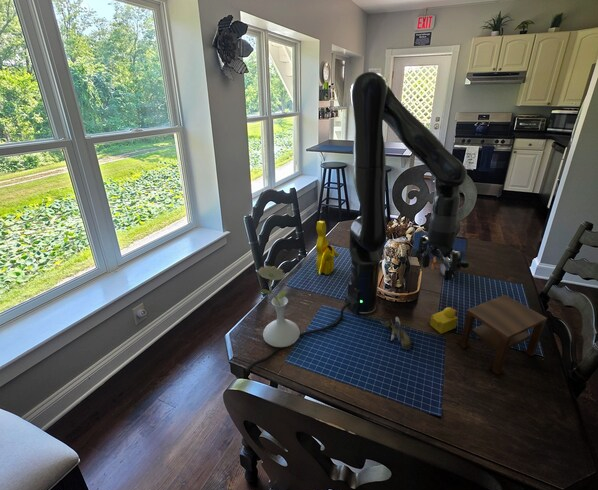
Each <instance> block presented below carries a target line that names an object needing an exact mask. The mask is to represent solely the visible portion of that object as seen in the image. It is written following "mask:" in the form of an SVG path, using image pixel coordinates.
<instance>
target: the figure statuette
mask: <svg viewBox="0 0 598 490" xmlns="http://www.w3.org/2000/svg"><path fill="white" fill-rule="evenodd" d="M316 233H317V239H316V245H315V251H316V263H315V264H316V271H317V272H318V275H322V273H323V274H325V275H331V274H332V273H333V272H334V270H335V259H334V258H339V257H340V254H339V253H338V252H337V251H336V250H335V247H334V245H331V244H329V239H328V238H327V235H326V233H327V224H326V221H325V220H319V221H317V222H316Z"/></svg>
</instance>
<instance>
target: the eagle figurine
mask: <svg viewBox="0 0 598 490" xmlns="http://www.w3.org/2000/svg"><path fill="white" fill-rule="evenodd" d="M394 320H395V324H393V320H392V318H390V321H389V320H388V319H387V320H386V321H385V322H384V321H382V320H380V323H381V324H382V325H384V326H386V327H387V329H388V331H391V337H390V341H394V339H395V337H396V338H397V342H401V343H400V344H401V347H402V349H404V350H410V349H411V348H412V345H413V341H412V338H411V337H410V335H409V334H408V332H406V330H404V329H403V328H402V327H401V321H400V318H399V317H398V316H395V319H394Z"/></svg>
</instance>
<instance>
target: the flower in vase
mask: <svg viewBox="0 0 598 490" xmlns="http://www.w3.org/2000/svg"><path fill="white" fill-rule="evenodd" d="M257 274H259V276H261V277H262V278H264V279H266V280H269V290H268V289H265V288H263V289H260V290H259V293H263V294H266V295H272V296H273V298H272V299H271V300H270V301H271V302H270V303H271V304H272V306H273V307H274V309H275V312H276V319H274V320H273V321H271V322H269V323H268V324H267V325H266V326H265V327H264V330H263V333H262V337H263V340H264V341H265V342H266V343H267V344H268V345H269V346H271V347H274V348H277V347H280V349H281V348H286V347H290V346H292V345H294V344H295V343H296V342H297V341H298V339H299V338H300V337H299V335H300V334H301V330H300V328H299V326H298V324H296V323H295V322H294V321H292V320H291V319H286V318H285V308H286V306H287V304H288V303H289V299H288V298H287V297H286V295H287V294H288V293H289V292H288V290H281V291H279V292H278V294H277V295H276V294H275V293H274V292H273V290H272V281H280V280H283V279H284V278H285V276H286V274H285V272H284V269H281V268H277V267H276V266H275V265H273V266H271V265H264V266H260V268H258V271H257Z"/></svg>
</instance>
